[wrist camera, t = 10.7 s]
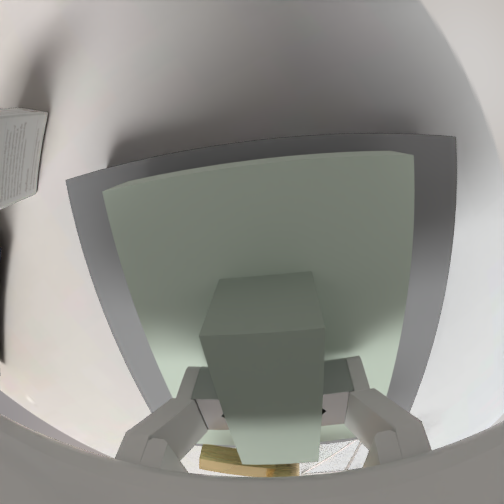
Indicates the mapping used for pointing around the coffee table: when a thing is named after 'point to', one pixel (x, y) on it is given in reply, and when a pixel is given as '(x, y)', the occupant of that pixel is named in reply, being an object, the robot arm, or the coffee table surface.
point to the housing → (420, 145)
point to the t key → (240, 464)
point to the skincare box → (20, 153)
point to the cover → (270, 284)
